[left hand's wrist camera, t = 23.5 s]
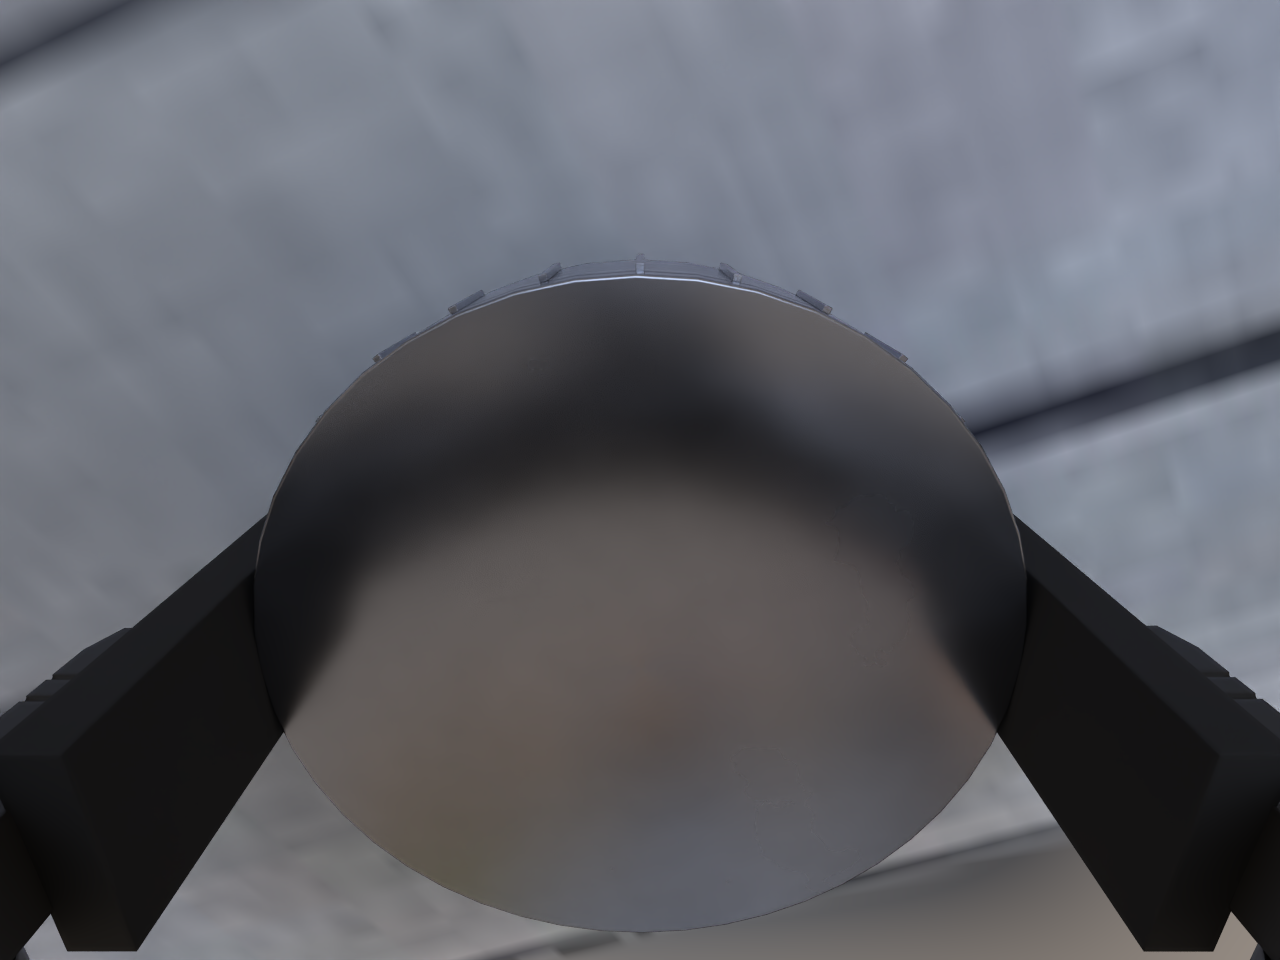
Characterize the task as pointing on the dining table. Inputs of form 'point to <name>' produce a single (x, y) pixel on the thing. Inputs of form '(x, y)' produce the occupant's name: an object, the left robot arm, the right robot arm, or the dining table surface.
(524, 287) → the lid
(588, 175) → the dining table surface
